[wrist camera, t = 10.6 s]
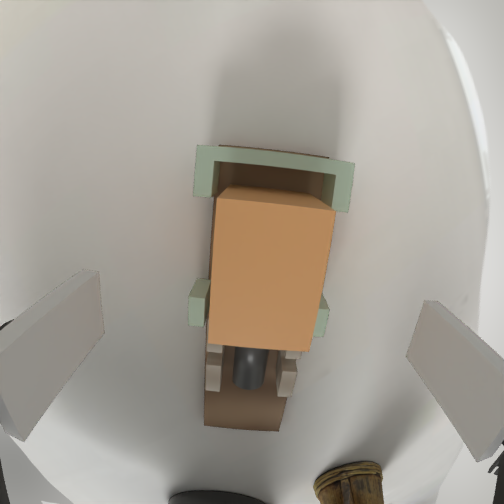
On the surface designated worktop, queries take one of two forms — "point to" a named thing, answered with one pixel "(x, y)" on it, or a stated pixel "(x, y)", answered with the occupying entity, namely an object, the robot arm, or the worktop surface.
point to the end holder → (335, 171)
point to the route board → (222, 356)
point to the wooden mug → (351, 484)
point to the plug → (266, 274)
